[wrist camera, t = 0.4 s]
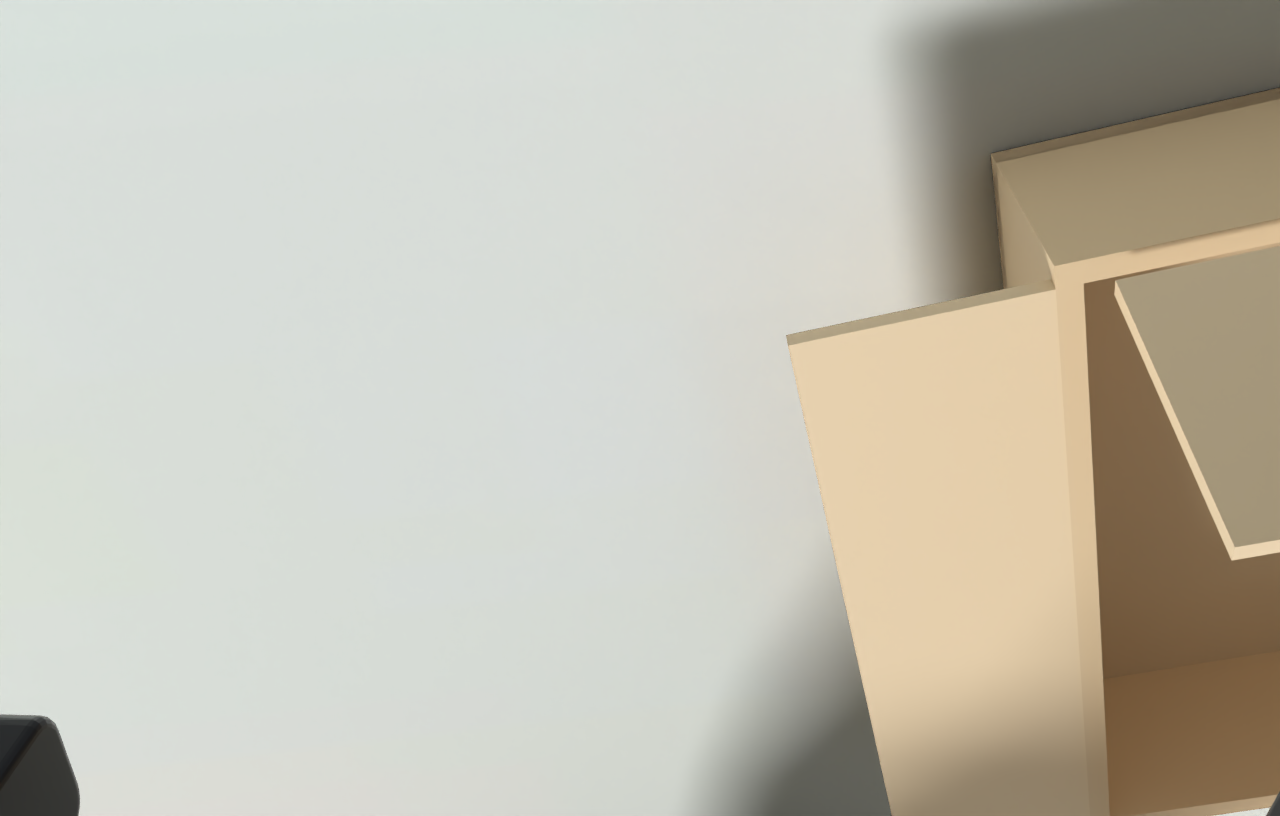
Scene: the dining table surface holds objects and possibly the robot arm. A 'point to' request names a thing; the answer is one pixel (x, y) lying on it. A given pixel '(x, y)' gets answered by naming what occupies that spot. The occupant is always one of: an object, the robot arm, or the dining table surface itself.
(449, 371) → the dining table surface
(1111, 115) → the dining table surface
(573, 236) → the dining table surface
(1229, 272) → the flap
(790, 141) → the dining table surface
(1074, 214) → the carton
